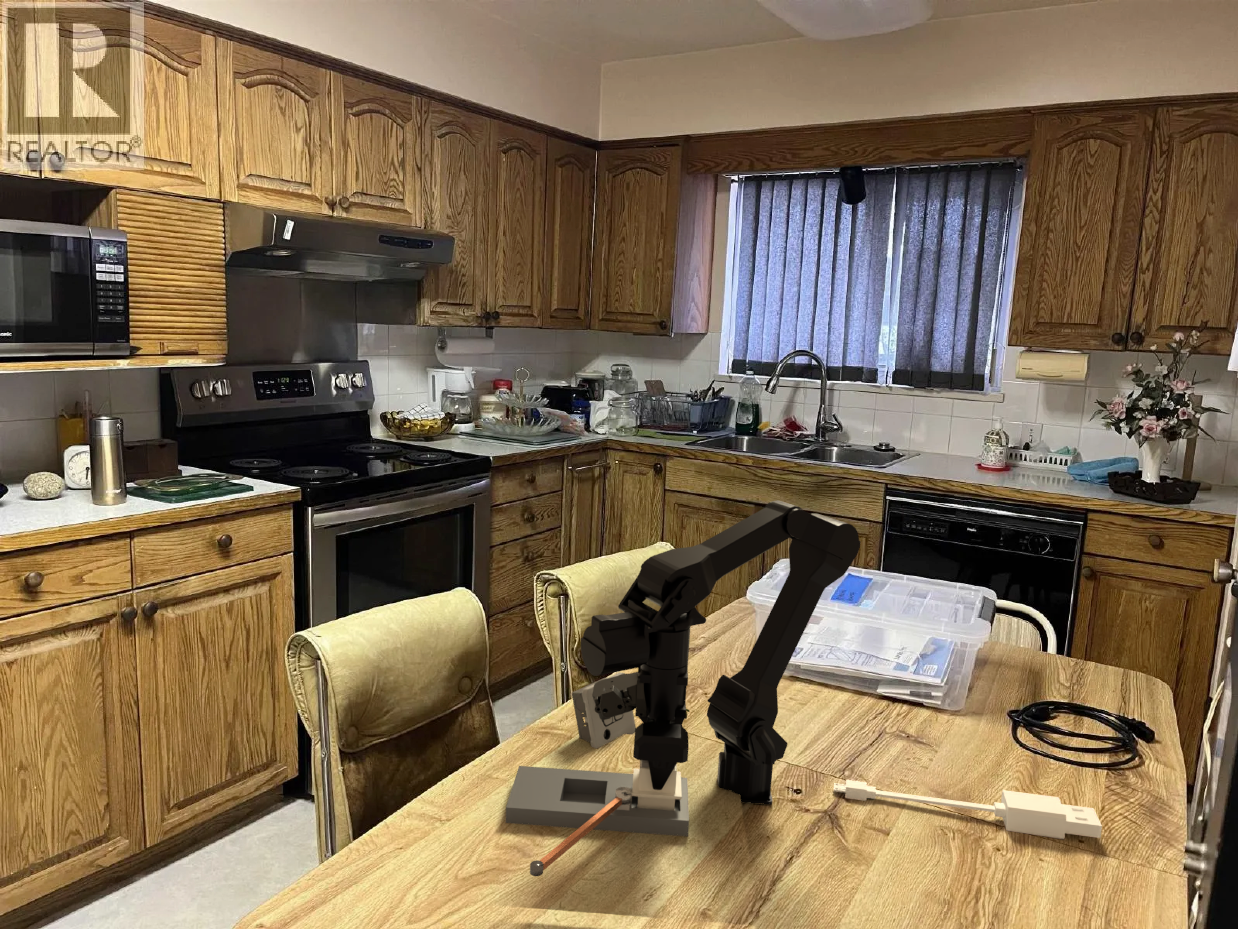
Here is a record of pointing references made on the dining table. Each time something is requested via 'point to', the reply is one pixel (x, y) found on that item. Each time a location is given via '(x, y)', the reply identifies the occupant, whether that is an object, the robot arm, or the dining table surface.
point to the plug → (655, 797)
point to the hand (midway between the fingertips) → (657, 779)
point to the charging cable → (1006, 810)
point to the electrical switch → (596, 728)
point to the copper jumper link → (581, 831)
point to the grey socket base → (588, 802)
